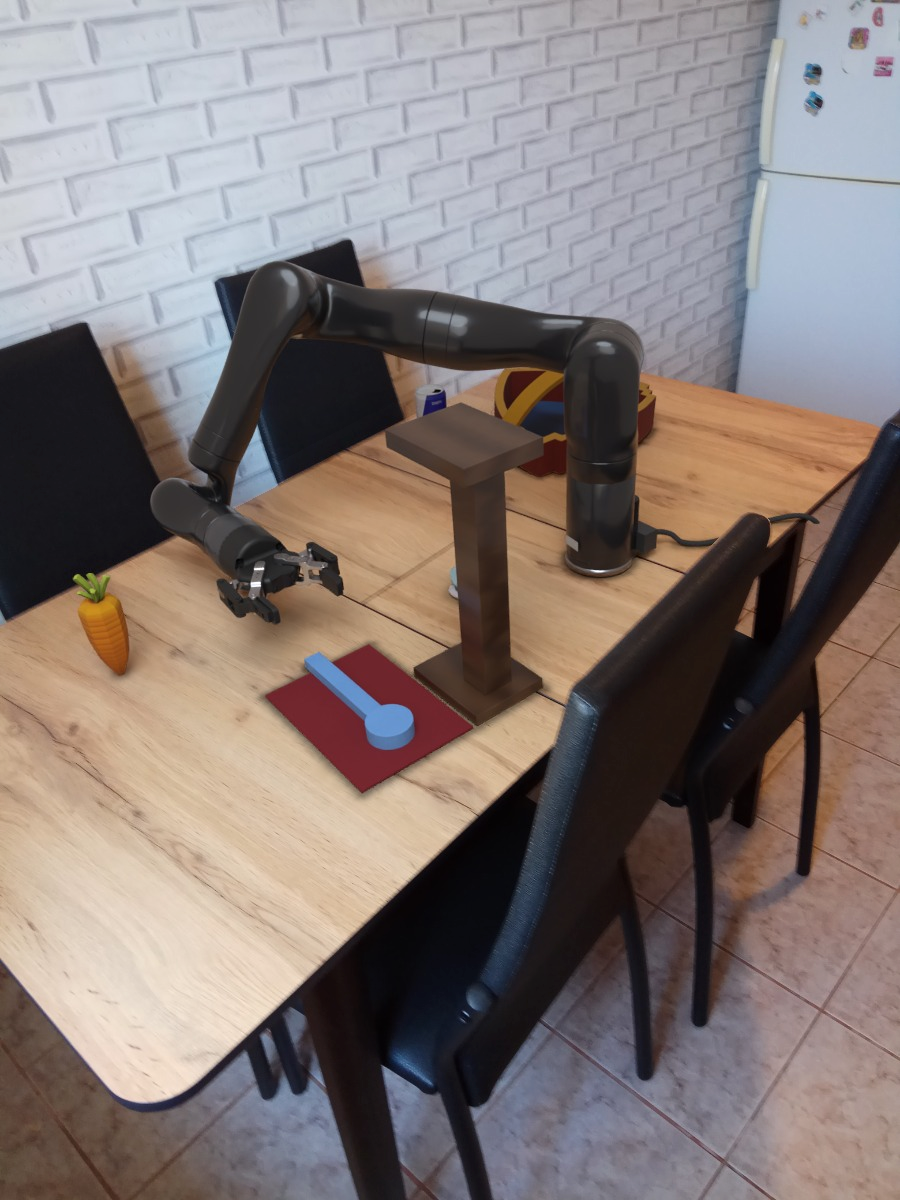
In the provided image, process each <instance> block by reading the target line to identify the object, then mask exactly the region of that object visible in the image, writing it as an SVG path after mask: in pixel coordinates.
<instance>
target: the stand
mask: <svg viewBox="0 0 900 1200" xmlns="http://www.w3.org/2000/svg"><path fill="white" fill-rule="evenodd" d="M384 435H385V445H386V448H387V449H389V450H390V451H393V452H394V453H396V454H398V455H400V456H402V457H404V458H406V459H408V460H410V461H412V462H413V463H416V464H417V465H420V466H422V467H423V468H425V469H427V470H429V471H431V472H433V473H435V474H437V475H439V476H440V477H443V478H445V479H446V480H448V481H449V489H450V503H451V506H450V507H451V517H452V532H453V533H452V534H453V545H454V547H453V548H454V559H455V567H456V576H457V589H456V591H457V592H458V599H457V602H458V603H457V605H458V617H459V629H460V630H459V632H460V642H459V643H457V644H455V645H453V646H450V647H449V648H447V649H445V650H444V651H441V652H440V653H437V654H435V655H434V656H432V657H430V658H428V659H426V660H425V661H422V662H420V663H419V664H417V665H415V666H413V667H412V669H413V677H414V678H415V679H416V680H417V681H418V682H420V683H421V684H422V685H424V686H425V687H426V688H428V689H429V690H431V691H432V692H433V693H434V694H435V695H437V696H438V697H439V698H440V699H442V700H443V701H444V702H446V703H447V704H448V705H450V706H451V707H452V708H454V710H455V711H457V712H458V713H459V714H461V715H462V716H464V717H465V718H466V719H467V720H469V722H471V723H472V724H474V725H475V726H476V727H478V726H480V725H482V724H483V723H485V722H486V721H488V720H490V719H492V718H493V717H495V716H498V714H500V713H502V712H505V710H507V709H509V708H511V707H512V706H514V705H515V704H517V703H519V702H521V701H523V700H524V699H526V698H527V697H529V696H531V695H533V694H535V693H537V692H538V691H540V690H542V689H543V677H542V676H540V675H538V674H537V673H536V672H534V671H533V670H531V669H530V668H529V667H526V665H524V664H522V663H521V662H520V661H518V660H516V659H515V658H514V657H512V653H511V652H512V650H511V622H510V621H511V620H510V619H511V618H510V592H509V591H510V588H509V587H510V586H509V564H508V563H509V562H508V561H509V560H508V534H507V533H508V532H507V531H508V529H507V504H506V502H507V500H506V477H505V475H506V473H505V472H508V471H510V470H512V469H514V468H517V467H520V465H522V464H524V463H527V462H529V461H531V460H534V459H536V458H539V457H541V456H543V437H542V436H539V435H537V434H535V433H532V432H530V431H528V430H525V429H523V428H520V427H518V426H516V425H513V424H511V423H509V422H506V421H504V420H502V419H499V418H497V417H494V415H492V414H489V413H488V412H485V411H483V410H480V409H478V408H475V407H474V406H471V405H468V404H466V403H464V402H458V403H455V404H452V405H450V406H447V408H444V409H441V410H438V411H435V412H433V413H430V414H427V415H424V416H422V417H419V418H417V417H416V418H414V419H411V420H408V421H405V422H403V423H399V424H397V425H394V426H391V427H389V428H386V429H384Z"/></svg>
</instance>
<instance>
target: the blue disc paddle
mask: <svg viewBox="0 0 900 1200" xmlns="http://www.w3.org/2000/svg"><path fill="white" fill-rule="evenodd" d="M303 662H304V667H305V669H306V670H307V671H309V673H312V674H313V675H314V676H315V677H316V678H318V679H319V680H320V681H321V682H322V683H323V684H324V685H325V686H326V687H327V688H329V689H330V690H331V691H332V692H333V693H334V694H335V695H336V696H337V697H339V698H340V699H341V700H342V701H343V702H344V703H345V704H346V705H347V706H348V707H350V708H351V709H352V710H353V711H354V712H355V713H356V714H357V715H358V716H360V717H361V718H362V719H363V720H364V721H365V728H366V735H367V739H368V741H369V743H370V744H371V745H372V746H374V747H376V748H378V749H383V750H393V749H398V748H401V747H403V746H405V745H407V744H408V743H409V742H410V741H411V740H412V739H413V737H414V734H415V727H414V719H413V714H412V712H411V711H410V710H409V709H408V708H406V707H404V706H402V705H397V704H387V705H382V706H381V705H380V704H379V703H378V702H376V701H375V700H374V699H373V698H372V697H371V696H369V695H368V694H367V693H366V692H365V691H364V690H363V689H361V688H360V687H359V686H358V685H357V684H356V683H354V682H353V681H352V680H351V679H350V678H349V677H348V676H346V675H345V674H344V673H343V672H342V671H341V670H339V669H338V668H337V667H336V666H335V665H334V664H333V663H332V662H331V660H329V658H327V657H326V656H325V655H323V654H322V653H321V652H320V651H317V652H315V653H313V654H311V655H309V656H307V657H305V658H303Z"/></svg>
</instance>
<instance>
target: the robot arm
mask: <svg viewBox="0 0 900 1200" xmlns="http://www.w3.org/2000/svg"><path fill="white" fill-rule="evenodd" d="M290 339H294V340H295V339H296V340H321V341H322V340H323V341H333V342H343V343H344V342H345V343H351V344H357V345H361V346H365V347H369V348H372V349H373V350H376V351H379V352H382V353H385V354H386V355H387V354H388V355H390V356H393V357H397V358H399V359H403V360H407V361H411V362H414V363H418V364H421V365H427V366H432V367H437V368H443V369H447V370H453V371H461V372H482V371H483V372H485V371H494V370H504V369H512V368H537V369H543V370H548V371H552V372H556V373H560V374H564V431H565V435H566V440H567V454H566V472H565V473H566V475H565V477H566V479H565V480H566V481H565V486H566V487H565V488H566V489H565V492H566V493H565V494H566V495H565V496H566V497H565V551H564V561H565V564H566V566H567V567H568V568H569V569H571V570H572V571H573V572H575V573H577V574H578V575H579V574H580V575H583V576H586V577H595V578H605V577H606V578H607V577H612V576H616V575H620V574H622V573H624V572H625V571H627V570H629V568H630V567H631V565H632V564H633V559H634V558H636V557H637V554H638V553H637V552H639V553H641V554H642V555H645V554H648V553H649V552H651V551H654V550H655V549H656V548H657V542H658V541H657V539H658V535H661V536H667V537H670V538H672V539H673V540H674V541H675V542H676V543H677V544H678V545H681V546H686V547H696V548H697V547H707V546H712V544H713V543H714V542H715V541H716V540H717V539H718V538H719V537H716V538H711V539H705V540H690V539H689V540H688V539H683V538H681V537H680V536H679V535H678V534H677V533H675V532H674V531H672V530H669V529H664V528H656V527H654V526H652V525H650V524H647V523H646V522H643V521H642V520H639V516H640V501H641V500H640V496H639V495H638V494H636V483H637V462H638V448H639V447H638V446H639V442H638V426H637V421H638V401H639V383H640V382H641V380H640V379H641V374H642V373H641V372H642V369H643V365H644V359H645V346H644V343H643V340H642V338H641V336H640V334H639V333H638V332H637V331H636V329H634V328H633V327H632V326H630V325H629V324H627V323H626V322H624V321H621V320H619V319H616V318H610V317H599V316H586V315H585V316H584V315H572V314H571V315H570V314H557V313H549V312H548V313H547V312H541V311H535V310H530V309H526V308H522V307H518V306H513V305H509V304H504V303H498V302H493V301H487V300H482V299H479V298H473V297H469V296H466V295H460V294H455V293H448V292H444V291H438V290H430V289H421V288H373V287H372V288H371V287H363V286H360V285H355V284H352V283H347V282H345V281H340V280H337V279H334V278H330V277H327V276H324V275H321V274H318V273H316V272H314V271H312V270H309V269H307V268H304V267H302V266H299V265H297V264H296V263H292V262H289V261H283V260H273V261H269V262H266V263H264V264H263V265H261V266H260V267H259V268H257V270H255V272H254V273H253V274H252V276H251V277H250V280H249V281H248V284H247V287H246V291H245V293H244V297H243V300H242V303H241V306H240V311H239V315H238V319H237V322H236V327H235V330H234V333H233V337H232V340H231V343H230V346H229V349H228V352H227V355H226V359H225V362H224V365H223V368H222V370H221V374H220V376H219V379H218V381H217V384H216V386H215V388H214V391H213V393H212V395H211V397H210V400H209V402H208V405H207V407H206V409H205V411H204V414H203V416H202V418H201V420H200V421H199V425H198V426H197V428H196V431H195V432H194V435H193V438H192V440H191V442H190V444H189V446H188V449H187V455H186V457H187V460H188V462H189V463H190V464H191V465H193V466H194V467H195V468H196V469H197V470H199V471H201V472H202V473H204V474H206V475H207V479H206V482H205V484H202V483H198V482H193V481H190V480H187V479H184V478H178V477H169V478H166V479H163V480H162V481H160V482H159V483H157V485H156V486H155V487H154V489H153V490H152V492H151V495H150V498H149V508H150V511H151V514H152V517H153V519H154V520H155V522H156V523H157V524H158V526H160V527H161V528H163V529H164V530H166V531H167V532H169V533H170V534H173V535H174V536H177V537H178V538H181V539H182V540H185V541H186V542H189V543H191V544H193V545H195V546H196V547H197V548H198V549H199V550H200V551H201V552H202V553H204V554H205V555H206V556H207V557H208V558H210V560H211V561H212V562H213V564H214V565H215V566H216V567H217V568H218V569H219V570H221V571H222V572H223V573H224V574H225V575H226V576H227V577H229V579H231V580H230V581H228V580H227V579H226V578H218V579H217V580H215V584H216V588H217V592H218V597H219V600H220V601H221V602H222V603H223V604H224V605H225V606H226V608H227V609H228V610H229V611H230V612H231V613H232V614H233V615H234V616H235V617H236V618H237V619H243V618H245V617H246V616H247V614H249V613H252V615H257V616H258V617H259V618H260V619H261V620H262V621H264V623H267V624H270V623H271V624H272V625H274V626H276V625H279V624H281V622H282V620H281V616H280V611H279V609H278V607H277V606H276V605H275V604H274V603H272V602H271V601H270V599H268V598H269V594H273V595H275V594H277V593H279V592H281V591H283V590H284V589H287V588H291V587H293V586H302V587H303V586H304V587H305V586H306V587H309V586H311V585H312V584H317V585H318V584H319V585H322V586H323V587H324V588H325V589H326V590H327V591H329V592H330V593H331V594H333V595H334V596H335V597H337V598H338V597H340V596H343V595H344V590H345V585H344V579H343V577H342V576H341V571H340V568H339V558H338V555H336V554H335V553H333V552H332V551H329V550H328V549H327V548H325V547H323V546H321V545H319V544H318V543H317V542H314V541H309V542H306V544H305V547H306V549H304V550H302V551H300V552H297V551H292V550H289V549H287V547H286V546H285V545H284V544H283V543H282V541H281V540H279V539H278V538H276V537H275V536H274V535H273V534H272V533H270V532H269V531H268V530H266V529H265V528H264V527H262V526H261V525H260V524H258V523H257V522H255V521H253V519H251V518H249V517H246V516H244V515H243V514H241V513H240V512H239V511H237V510H236V509H235V508H233V507H231V503H232V497H233V491H234V486H235V482H236V477H237V471H238V468H239V466H240V464H241V462H242V460H243V458H244V457H245V454H246V452H247V450H248V448H249V446H250V443H251V441H252V439H253V437H254V435H255V432H256V429H257V427H258V425H259V421H260V417H261V413H262V408H263V407H262V406H263V401H264V397H265V392H266V387H267V384H268V381H269V378H270V375H271V373H272V371H273V368H274V366H275V364H276V362H277V360H278V358H279V356H280V354H281V353H282V351H283V350H284V348H285V346H286V345H287V344H288V343H289V341H290ZM767 518H768V519H769V520H770V522H771V523H770V524H772V523H776V522H781V521H787V520H792V519H803V520H806V521H809V522H811V523H812V524H814V525H819V524H820V523H821V522H820V521H819V520H818V519H817V518H816V517H814V516H812V515H811V514H808V513H804V512H791V513H784V514H781V515H775V516H771V517H767ZM713 545H714V544H713ZM301 569H302V574H303V576H302V575H300V574H301ZM314 571H318V574H315V573H314ZM239 590H241V591H242V592H248V596H246V597H245V596H244V597H243V596H242V595H241V593H240V592H239Z"/></svg>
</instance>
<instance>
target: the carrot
mask: <svg viewBox="0 0 900 1200" xmlns="http://www.w3.org/2000/svg"><path fill="white" fill-rule="evenodd" d="M85 576H86V577H87V579H88V581H89V582H88V581H87V580H86V578H85V577H83V576H81V574H78V573H76V574H75V575H74V576H73V577H72V581H73V582H74V583H76V584H77V585H78V586H79V587H81V588H82V589H83V590H84V591H83V590H78V591H77V592H76V595H78V596H80V597H83V599H82V600H81V602H80V605H79V607H78V609H77V615H78V618H79V621H80V623H81V625H82V629H83V631H84V633H85V635H86V637H87V640H88V642H89V644H90V645H91V647H92V649H93V650H94V651H95V653H96V655H97V656H98V658H99V659H100V660H101V661H102V662H103V663H104V665H106V667H108V668H109V669H110V670H112V671H113V672H114V673H115V674H117V675H120V676H122V675H124V674H125V672H126V669H127V665H128V661H129V655H130V637H129V629H128V624H127V620H126V617H125V613H124V609H123V606H122V605H123V604H122V602H121V600H120V599H119V598H118V597H117V596H116V595H114V594H112V593H110V592H106V590H107V588H108V584H109V582H110V580H111V576H110V575H109V574H104V575H102V577H101V580H100V582H99V580H98V578H97V576H96V575H95V574H94V573H93V572H92V573H91V572H89V573H87V574H85Z"/></svg>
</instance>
